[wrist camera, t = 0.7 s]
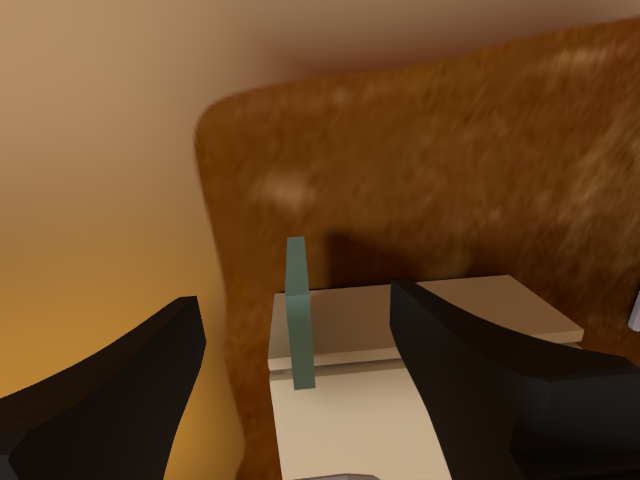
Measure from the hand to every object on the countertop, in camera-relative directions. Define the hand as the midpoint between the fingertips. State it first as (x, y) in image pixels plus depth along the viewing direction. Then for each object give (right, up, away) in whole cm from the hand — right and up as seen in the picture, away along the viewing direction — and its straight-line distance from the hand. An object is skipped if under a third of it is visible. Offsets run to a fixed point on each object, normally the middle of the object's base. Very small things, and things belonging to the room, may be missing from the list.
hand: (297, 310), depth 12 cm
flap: (+5, +2, +6) cm, 8 cm away
